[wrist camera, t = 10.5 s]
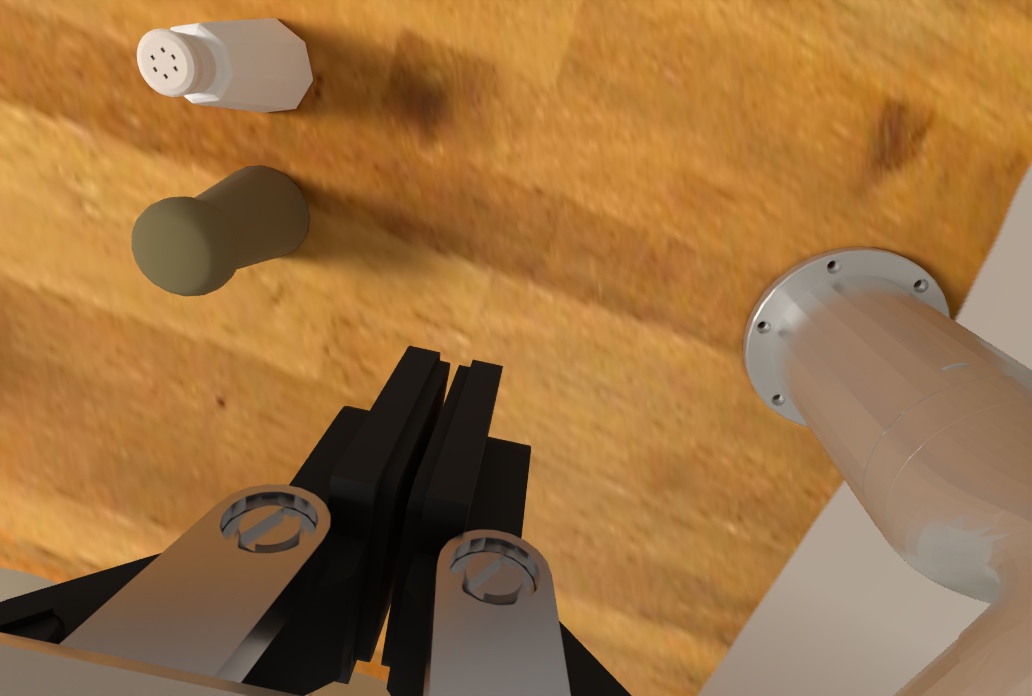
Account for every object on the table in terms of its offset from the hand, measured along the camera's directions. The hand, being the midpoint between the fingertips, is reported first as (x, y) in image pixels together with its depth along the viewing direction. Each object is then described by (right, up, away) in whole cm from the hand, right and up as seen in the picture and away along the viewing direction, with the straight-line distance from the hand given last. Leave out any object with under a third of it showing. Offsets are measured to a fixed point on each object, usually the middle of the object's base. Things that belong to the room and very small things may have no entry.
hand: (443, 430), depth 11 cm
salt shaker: (-14, +19, +27) cm, 36 cm away
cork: (-15, +10, +31) cm, 36 cm away
